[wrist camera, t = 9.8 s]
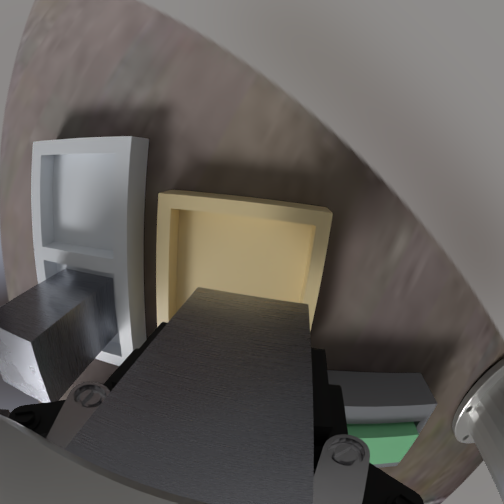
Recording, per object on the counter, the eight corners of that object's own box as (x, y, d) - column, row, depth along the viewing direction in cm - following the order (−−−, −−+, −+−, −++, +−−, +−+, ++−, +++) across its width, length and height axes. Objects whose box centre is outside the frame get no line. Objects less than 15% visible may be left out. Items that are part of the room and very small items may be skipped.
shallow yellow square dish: (326, 207, 18) (332, 213, 16) (301, 343, 21) (302, 363, 19) (172, 189, 19) (158, 193, 16) (169, 323, 21) (157, 340, 19)
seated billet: (113, 278, 20) (30, 342, 11) (117, 332, 21) (52, 407, 12) (65, 268, 20) (-18, 318, 11) (72, 319, 21) (3, 380, 13)
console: (420, 372, 21) (437, 403, 17) (387, 435, 23) (396, 465, 19) (251, 361, 22) (245, 397, 18) (242, 428, 24) (236, 462, 20)
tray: (149, 138, 18) (131, 136, 15) (147, 352, 22) (135, 370, 20) (54, 142, 18) (33, 141, 16) (65, 329, 23) (49, 342, 21)
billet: (308, 304, 12) (312, 523, 3) (289, 389, 13) (269, 572, 4) (198, 286, 12) (61, 452, 4) (195, 372, 14) (112, 532, 5)
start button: (411, 417, 18) (418, 434, 17) (394, 444, 20) (399, 462, 18) (258, 412, 19) (255, 432, 17) (252, 441, 20) (250, 460, 18)
